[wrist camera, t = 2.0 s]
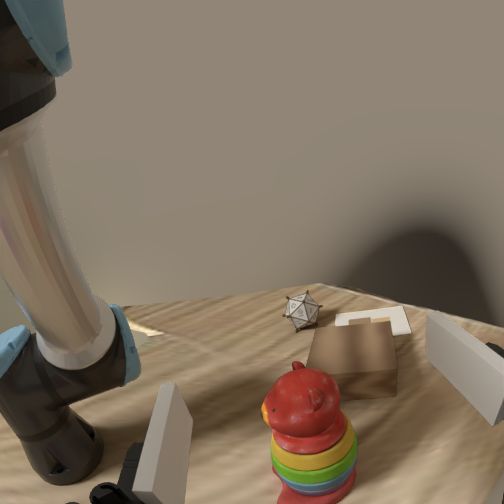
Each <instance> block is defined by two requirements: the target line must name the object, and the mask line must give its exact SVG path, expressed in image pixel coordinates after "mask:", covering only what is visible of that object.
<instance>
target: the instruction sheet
mask: <svg viewBox="0 0 504 504" xmlns="http://www.w3.org/2000/svg"><path fill="white" fill-rule="evenodd" d="M384 321H391V327H392V333H393V336H399V335H406V334H411V330H410V327H409V324H408V321H407V318H406V315H405V312H404V309H403V306H397V307H390V308H382V309H375V310H367V311H359V312H351V313H342V314H336V320H335V326H345V325H355V324H366V323H375V322H384Z"/></svg>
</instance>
